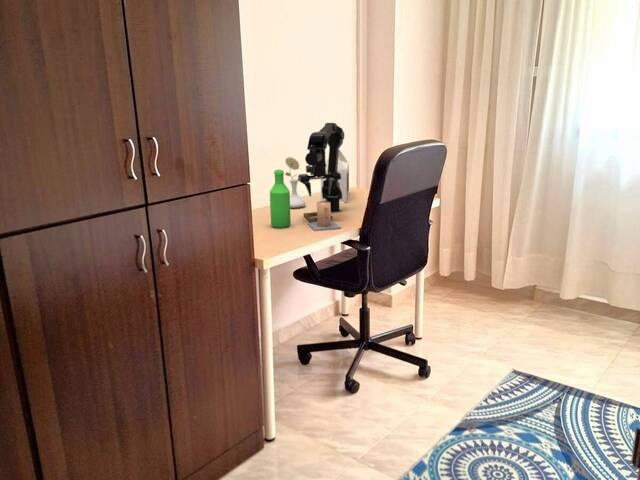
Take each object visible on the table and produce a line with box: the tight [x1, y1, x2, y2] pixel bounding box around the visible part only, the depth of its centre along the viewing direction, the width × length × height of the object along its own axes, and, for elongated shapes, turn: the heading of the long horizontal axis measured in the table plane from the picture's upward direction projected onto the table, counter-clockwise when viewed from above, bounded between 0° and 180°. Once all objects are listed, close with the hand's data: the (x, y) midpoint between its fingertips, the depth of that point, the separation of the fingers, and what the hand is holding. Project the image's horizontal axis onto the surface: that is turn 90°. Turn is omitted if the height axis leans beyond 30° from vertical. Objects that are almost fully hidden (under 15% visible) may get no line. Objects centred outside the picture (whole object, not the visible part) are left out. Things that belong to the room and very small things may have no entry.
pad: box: [307, 220, 342, 232], centre depth 250 cm, size 12×12×1 cm
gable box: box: [320, 149, 350, 202], centre depth 300 cm, size 22×13×28 cm, turn 174°
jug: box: [316, 200, 332, 227], centre depth 248 cm, size 10×6×10 cm, turn 16°
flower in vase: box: [284, 156, 307, 209], centre depth 284 cm, size 13×11×25 cm
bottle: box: [269, 169, 292, 229], centre depth 248 cm, size 9×9×25 cm
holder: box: [303, 211, 334, 223], centre depth 263 cm, size 11×11×2 cm
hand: (319, 195), depth 257 cm, fingers open, 9 cm apart
